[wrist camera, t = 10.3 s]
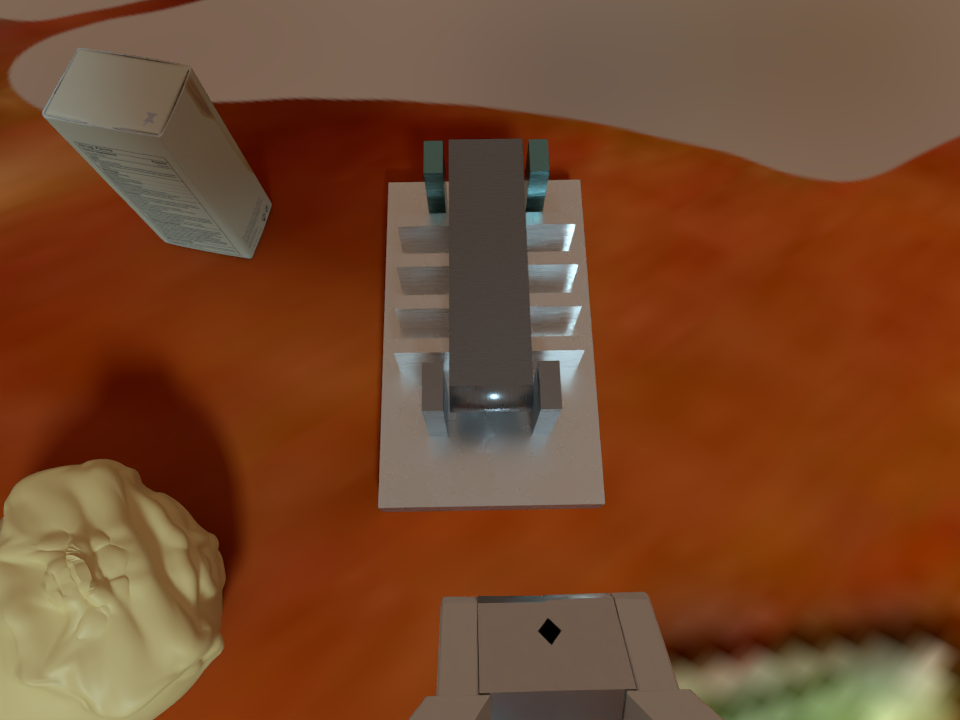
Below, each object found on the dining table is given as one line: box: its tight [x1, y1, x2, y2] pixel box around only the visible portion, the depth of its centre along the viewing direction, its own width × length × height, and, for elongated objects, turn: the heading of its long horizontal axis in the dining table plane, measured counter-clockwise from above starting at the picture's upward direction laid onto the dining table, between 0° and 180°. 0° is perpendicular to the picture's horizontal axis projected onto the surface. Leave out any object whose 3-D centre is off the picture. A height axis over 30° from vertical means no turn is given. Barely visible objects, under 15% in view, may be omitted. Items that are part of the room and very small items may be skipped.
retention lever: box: [449, 139, 534, 413], centre depth 34 cm, size 2×4×15 cm
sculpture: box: [0, 459, 226, 720], centre depth 30 cm, size 12×12×11 cm
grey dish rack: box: [378, 139, 605, 512], centre depth 36 cm, size 20×12×8 cm, turn 1°
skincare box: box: [42, 48, 272, 258], centre depth 37 cm, size 6×4×12 cm
